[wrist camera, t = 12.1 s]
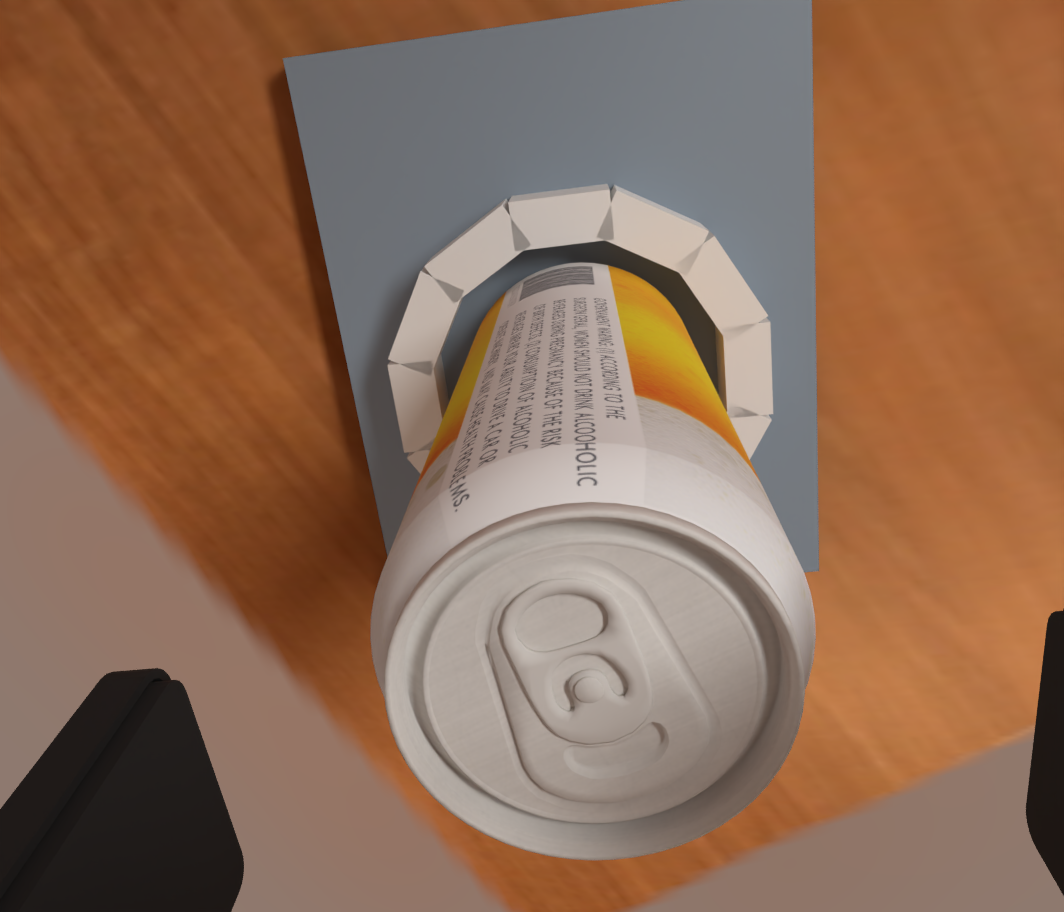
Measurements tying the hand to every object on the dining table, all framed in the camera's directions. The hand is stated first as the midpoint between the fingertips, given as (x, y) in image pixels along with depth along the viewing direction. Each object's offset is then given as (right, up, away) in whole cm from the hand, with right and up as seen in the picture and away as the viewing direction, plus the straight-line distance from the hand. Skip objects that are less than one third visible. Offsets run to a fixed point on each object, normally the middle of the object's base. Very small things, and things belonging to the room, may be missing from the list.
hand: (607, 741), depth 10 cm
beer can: (+1, +6, +16) cm, 17 cm away
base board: (0, +7, +16) cm, 17 cm away
